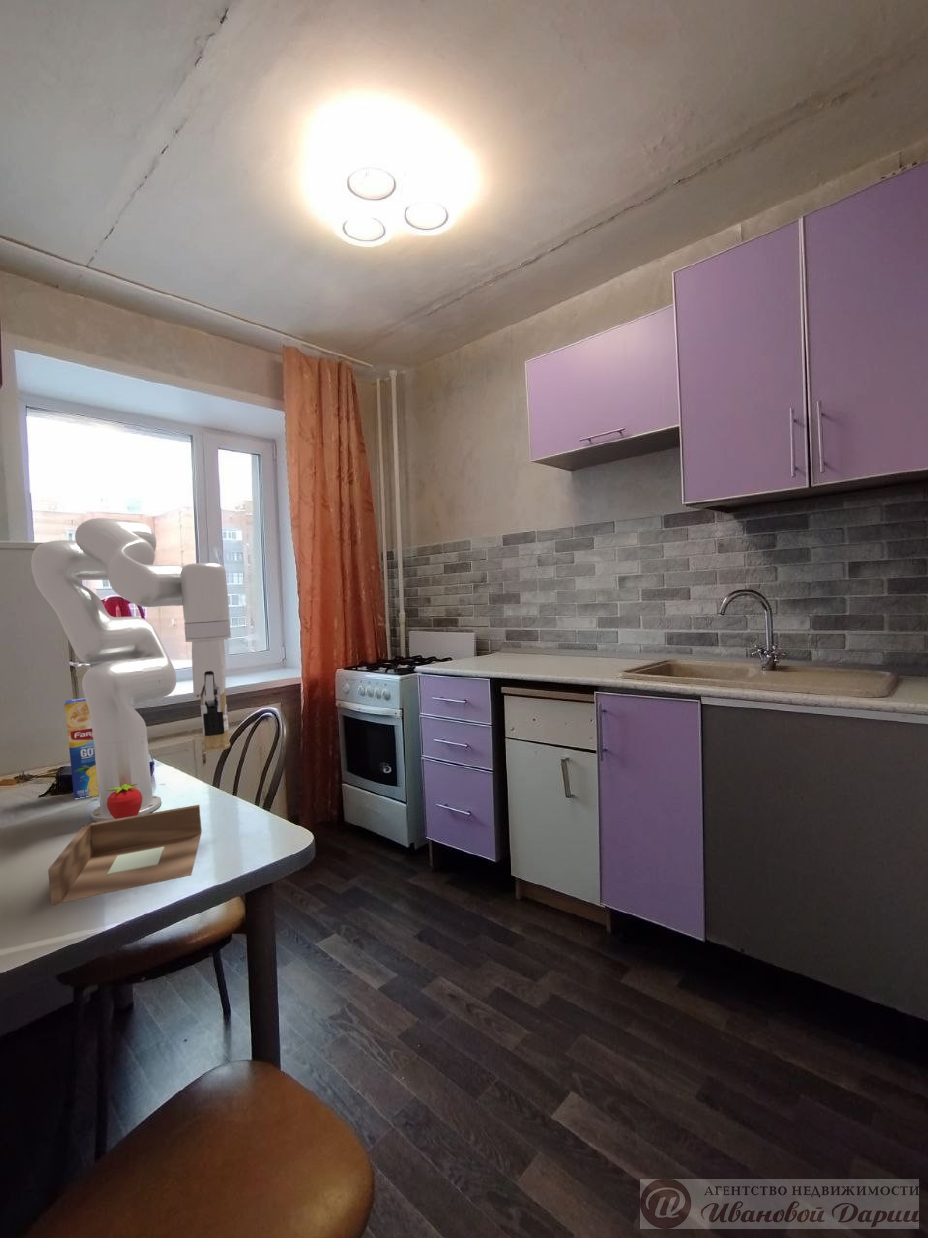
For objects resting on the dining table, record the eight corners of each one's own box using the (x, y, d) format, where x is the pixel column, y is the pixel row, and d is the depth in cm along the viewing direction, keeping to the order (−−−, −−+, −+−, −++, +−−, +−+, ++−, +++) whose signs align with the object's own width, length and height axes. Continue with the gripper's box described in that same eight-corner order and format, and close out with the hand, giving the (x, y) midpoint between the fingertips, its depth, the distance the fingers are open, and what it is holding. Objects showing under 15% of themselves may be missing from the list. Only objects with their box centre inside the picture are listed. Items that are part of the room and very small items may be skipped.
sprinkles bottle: (232, 749, 103) (227, 675, 102) (205, 754, 100) (200, 678, 100) (227, 744, 107) (222, 673, 106) (201, 749, 104) (195, 676, 103)
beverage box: (129, 788, 134) (121, 696, 133) (73, 800, 128) (64, 704, 127) (128, 781, 140) (120, 693, 139) (74, 792, 134) (65, 700, 133)
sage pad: (117, 856, 95) (117, 855, 95) (164, 847, 97) (164, 846, 97) (107, 875, 88) (107, 873, 88) (157, 865, 91) (157, 863, 91)
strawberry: (110, 839, 104) (105, 785, 104) (108, 827, 110) (103, 776, 110) (147, 830, 108) (142, 778, 107) (142, 818, 114) (138, 769, 113)
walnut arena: (87, 856, 97) (84, 824, 97) (201, 834, 103) (199, 804, 103) (51, 908, 80) (48, 869, 80) (191, 878, 87) (188, 842, 86)
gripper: (189, 631, 109) (197, 725, 110) (179, 636, 93) (187, 745, 94) (231, 628, 112) (238, 720, 112) (228, 632, 96) (236, 739, 97)
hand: (215, 730), depth 103 cm, fingers closed on sprinkles bottle, 4 cm apart
